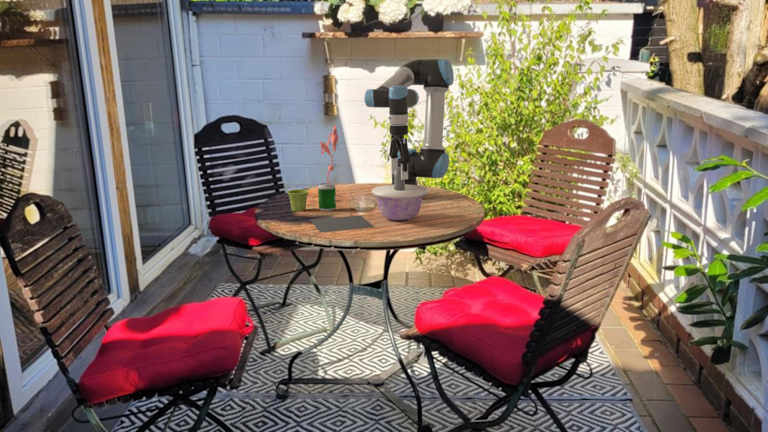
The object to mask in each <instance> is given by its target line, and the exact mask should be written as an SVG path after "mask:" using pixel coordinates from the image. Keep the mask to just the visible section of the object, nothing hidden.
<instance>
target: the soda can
mask: <svg viewBox="0 0 768 432" xmlns="http://www.w3.org/2000/svg"><path fill="white" fill-rule="evenodd" d="M317 191H318V195H317V196H318V209H319V210H320V211H321V212H332V211H335V210H336V209H337V201H336V200H337V197H336V194H337V192H336V185H335V184H334V183H331V182H330V183H329V182H328V183H327V182H323V183H322V182H321V183H320V184H319V185H318V187H317Z"/></svg>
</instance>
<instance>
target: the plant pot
mask: <svg viewBox="0 0 768 432" xmlns="http://www.w3.org/2000/svg"><path fill="white" fill-rule="evenodd" d="M286 193H287V194H288V197H289V201H290V209H291V211H292V212H296V213H302V212H304V211H306V209H307V199H308V194H309V190H308V189H291V190H288V191H287V192H286Z"/></svg>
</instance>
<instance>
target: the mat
mask: <svg viewBox="0 0 768 432" xmlns="http://www.w3.org/2000/svg"><path fill="white" fill-rule="evenodd" d="M309 221H310V222H311V223H312V224H313V226H314V227H315V228H316V229H317V230H318V231H319V232H320V233H326V232H327V233H328V232H337V231H338V232H339V231H348V230H350V231H351V230H357V229H358V230H362V229H371V228H375V226H374V225H373V224H371V223H370V221H368V220H367V218H365V217H364V216H362V215H361V214H359V215H358V214H356V215H350V216H348V215H346V216H335V217H334V216H333V217H325V218H324V217H323V218H312V219H311V218H310V219H309Z"/></svg>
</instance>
